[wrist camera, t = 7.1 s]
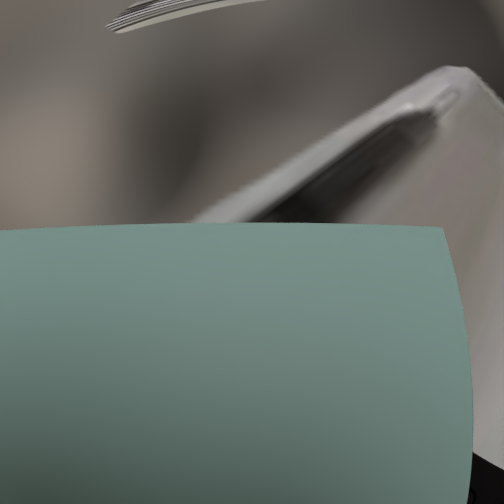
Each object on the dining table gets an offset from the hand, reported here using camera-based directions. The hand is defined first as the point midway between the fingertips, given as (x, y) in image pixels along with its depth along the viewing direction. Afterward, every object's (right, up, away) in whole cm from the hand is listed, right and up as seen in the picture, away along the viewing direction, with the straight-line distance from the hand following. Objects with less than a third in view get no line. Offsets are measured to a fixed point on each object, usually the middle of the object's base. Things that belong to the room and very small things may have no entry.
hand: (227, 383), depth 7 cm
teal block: (0, -4, +5) cm, 7 cm away
